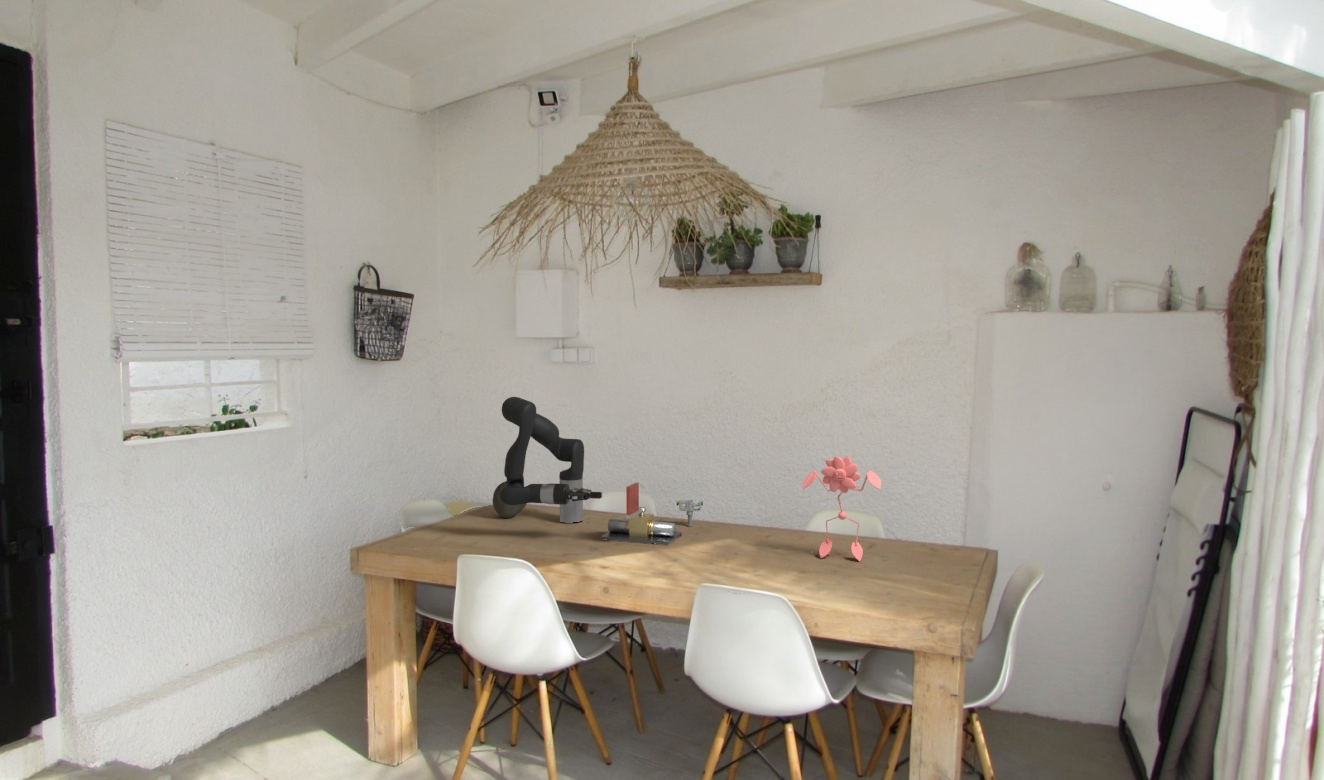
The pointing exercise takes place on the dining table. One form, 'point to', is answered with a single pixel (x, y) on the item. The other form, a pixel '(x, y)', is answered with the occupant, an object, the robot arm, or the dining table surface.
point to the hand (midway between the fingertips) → (601, 495)
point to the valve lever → (633, 501)
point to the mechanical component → (689, 508)
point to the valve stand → (641, 530)
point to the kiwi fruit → (505, 505)
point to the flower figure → (841, 478)
